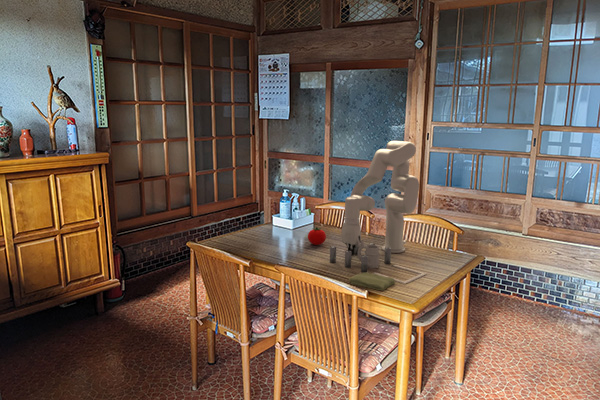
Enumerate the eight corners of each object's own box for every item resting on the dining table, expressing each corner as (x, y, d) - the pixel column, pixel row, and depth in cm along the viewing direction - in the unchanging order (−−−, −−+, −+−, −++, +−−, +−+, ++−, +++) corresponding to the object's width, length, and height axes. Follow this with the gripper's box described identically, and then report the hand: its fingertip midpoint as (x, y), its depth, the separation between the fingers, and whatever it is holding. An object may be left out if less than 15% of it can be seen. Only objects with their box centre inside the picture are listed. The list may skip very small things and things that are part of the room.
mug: (375, 269, 224) (376, 245, 222) (353, 264, 231) (354, 241, 228) (382, 265, 231) (383, 242, 228) (360, 260, 237) (361, 238, 235)
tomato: (322, 248, 258) (323, 230, 256) (305, 246, 262) (305, 229, 260) (327, 243, 268) (328, 226, 266) (310, 241, 271) (311, 224, 269)
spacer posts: (355, 252, 250) (356, 238, 248) (391, 263, 234) (392, 247, 232) (328, 262, 235) (328, 246, 233) (364, 273, 218) (365, 257, 217)
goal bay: (395, 265, 230) (395, 264, 230) (426, 274, 217) (426, 273, 217) (373, 274, 217) (373, 273, 217) (405, 284, 205) (405, 283, 205)
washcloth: (362, 275, 217) (362, 269, 216) (396, 284, 206) (396, 277, 205) (347, 283, 207) (347, 276, 206) (382, 293, 196) (382, 286, 195)
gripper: (336, 219, 237) (335, 254, 240) (358, 225, 226) (357, 260, 230) (345, 217, 242) (344, 251, 246) (368, 222, 232) (366, 257, 235)
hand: (350, 255), depth 238 cm, fingers closed
